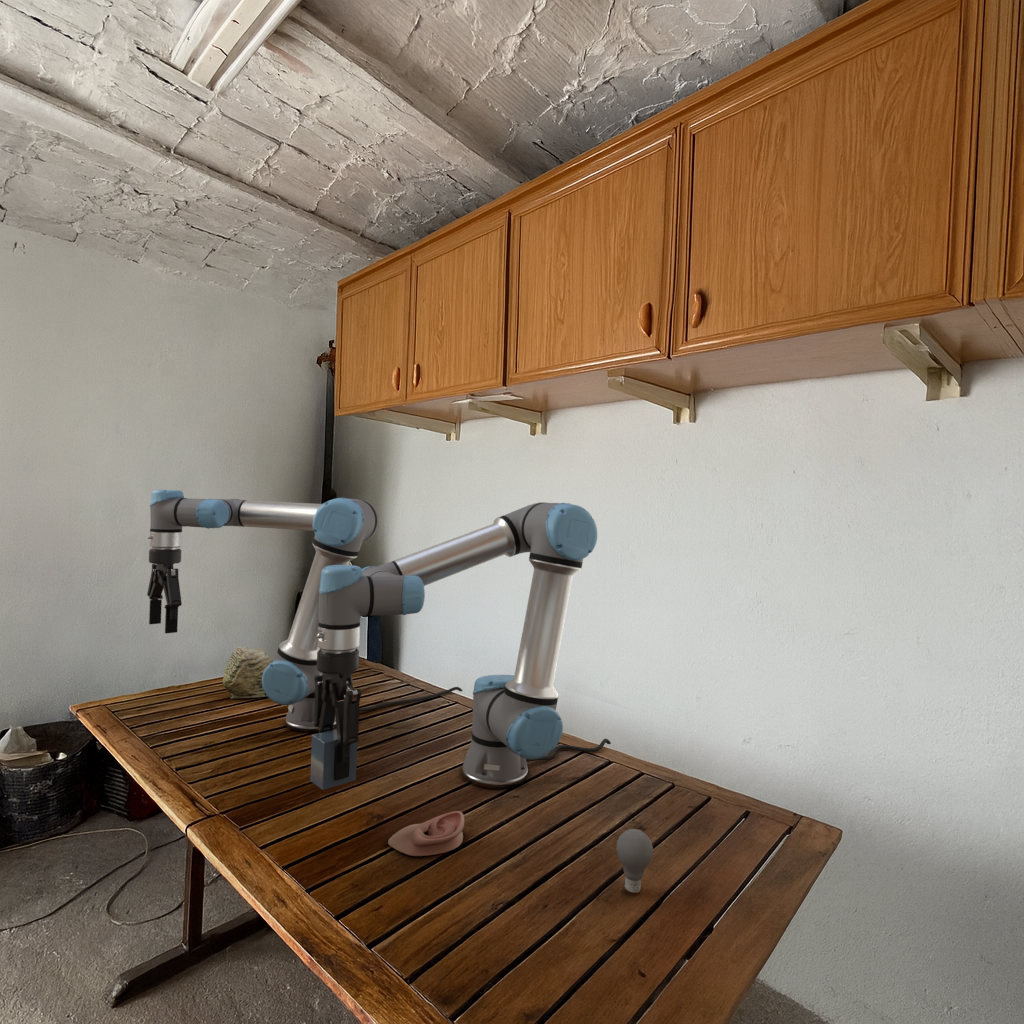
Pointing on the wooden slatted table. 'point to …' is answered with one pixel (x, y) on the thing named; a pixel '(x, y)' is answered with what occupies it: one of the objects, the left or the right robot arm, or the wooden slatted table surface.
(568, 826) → the wooden slatted table surface
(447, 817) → the anatomical model
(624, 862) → the light bulb
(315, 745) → the brick
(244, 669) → the fossil
